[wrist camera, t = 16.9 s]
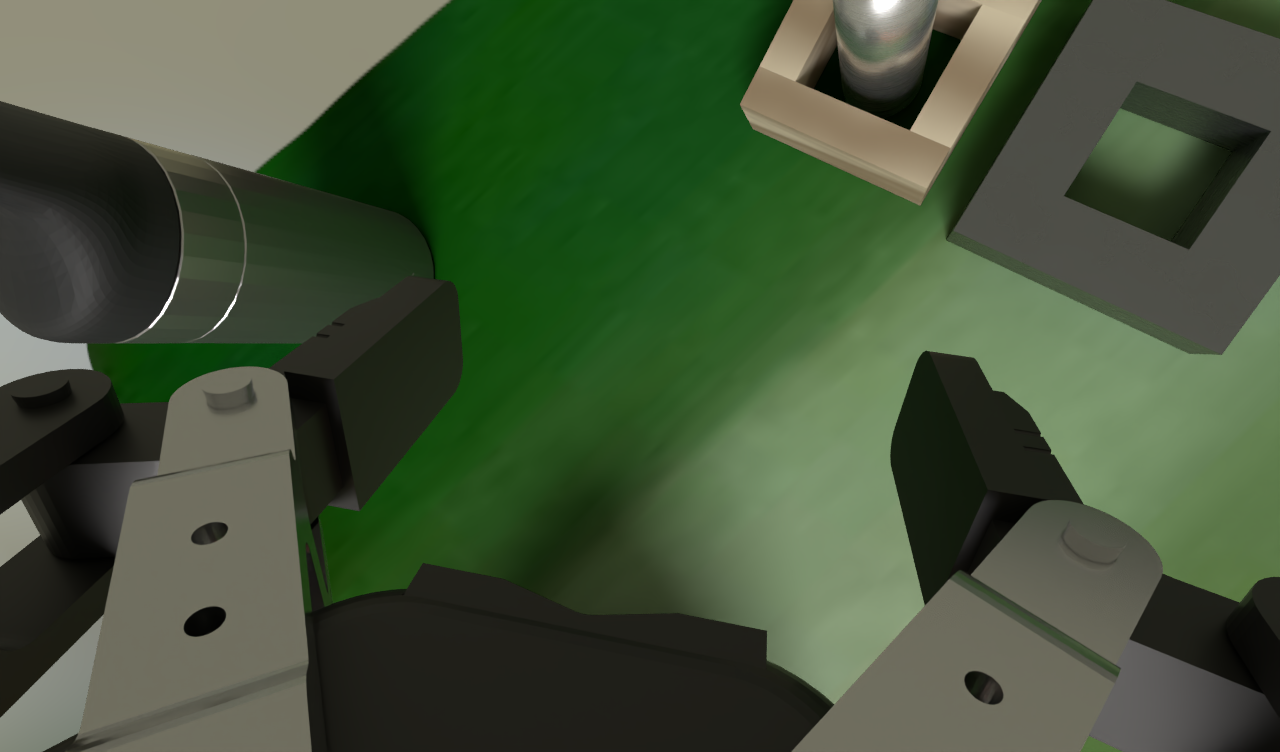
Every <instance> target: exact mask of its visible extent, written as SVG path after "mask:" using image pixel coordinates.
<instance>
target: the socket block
mask: <svg viewBox="0 0 1280 752" xmlns="http://www.w3.org/2000/svg"><path fill="white" fill-rule="evenodd" d="M1120 108H1122V109H1124V110H1127V111H1129V112H1132V113H1135V114H1137V115H1140V116H1142V117H1145V118H1148V119H1150V120H1153V121H1155V122H1158V123H1161V124H1163V125H1166V126H1168V127H1171V128H1174V129H1176V130H1179V131H1182V132H1184V133H1187V134H1189V135H1192V136H1195V137H1197V138H1200V139H1202V140H1205V141H1208V142H1210V143H1213V144H1215V145H1218V146H1221V147H1223V148H1226V149H1228V150H1231V151H1233V152H1232V153H1231V155H1230V156H1229V158H1228V159H1227V161H1226V162H1225V164H1224V165H1223V167H1222V168H1221V170H1220V171H1219V172H1218V174H1217V175H1216V177H1215V178H1214V180H1213V181H1212V183H1211V184H1210V186H1209V187H1208V189H1207V190H1206V192H1205V193H1204V194H1203V196H1202V197H1201V199H1200V200H1199V202H1198V203H1197V205H1196V206H1195V208H1194V209H1193V211H1192V212H1191V213H1190V215H1189V216H1188V218H1187V219H1186V221H1185V222H1184V224H1183V225H1182V227H1181V228H1180V230H1179V231H1178V232H1177V234H1176V235H1175V237H1174V238H1173V240H1172V241H1171V242H1170V241H1168V240H1165V239H1163V238H1161V237H1158V236H1156V235H1154V234H1151V233H1149V232H1147V231H1144V230H1142V229H1140V228H1137V227H1135V226H1133V225H1130V224H1128V223H1126V222H1123V221H1121V220H1119V219H1116V218H1114V217H1112V216H1109V215H1107V214H1105V213H1102V212H1100V211H1098V210H1095V209H1093V208H1091V207H1088V206H1086V205H1084V204H1081V203H1079V202H1076V201H1074V200H1072V199H1069V198H1067V197H1065V196H1064V195H1065V193H1066V192H1067V190H1068V189H1069V187H1070V185H1071V184H1072V182H1073V181H1074V179H1075V178H1076V176H1077V174H1078V173H1079V171H1080V170H1081V168H1082V167H1083V165H1084V163H1085V162H1086V160H1087V159H1088V157H1089V156H1090V154H1091V152H1092V151H1093V149H1094V148H1095V146H1096V145H1097V143H1098V141H1099V140H1100V138H1101V137H1102V135H1103V134H1104V132H1105V130H1106V129H1107V127H1108V126H1109V124H1110V123H1111V121H1112V120H1113V118H1114V116H1115V115H1116V113H1117V112H1118V110H1119V109H1120ZM946 240H947V241H949V242H951V243H954V244H956V245H958V246H960V247H962V248H964V249H966V250H969V251H971V252H973V253H975V254H977V255H979V256H981V257H984V258H986V259H988V260H990V261H992V262H994V263H996V264H999V265H1001V266H1003V267H1005V268H1007V269H1009V270H1011V271H1014V272H1016V273H1018V274H1020V275H1022V276H1024V277H1026V278H1028V279H1031V280H1033V281H1035V282H1037V283H1039V284H1041V285H1043V286H1046V287H1048V288H1050V289H1052V290H1054V291H1056V292H1058V293H1061V294H1063V295H1065V296H1067V297H1069V298H1071V299H1073V300H1076V301H1078V302H1080V303H1082V304H1084V305H1086V306H1088V307H1090V308H1093V309H1095V310H1097V311H1099V312H1101V313H1103V314H1105V315H1108V316H1110V317H1112V318H1114V319H1116V320H1118V321H1120V322H1123V323H1125V324H1127V325H1129V326H1131V327H1133V328H1135V329H1138V330H1140V331H1142V332H1144V333H1146V334H1148V335H1150V336H1153V337H1155V338H1157V339H1159V340H1161V341H1163V342H1165V343H1167V344H1170V345H1172V346H1174V347H1176V348H1178V349H1180V350H1182V351H1185V352H1187V353H1189V354H1217V355H1222V354H1223V352H1224V351H1225V350H1226V348H1227V347H1228V345H1229V344H1230V343H1231V341H1232V340H1233V339H1234V337H1235V336H1236V334H1237V333H1238V332H1239V330H1240V329H1241V328H1242V326H1243V325H1244V323H1245V322H1246V321H1247V319H1248V318H1249V317H1250V315H1251V314H1252V312H1253V311H1254V310H1255V308H1256V307H1257V306H1258V304H1259V303H1260V302H1261V300H1262V299H1263V297H1264V296H1265V295H1266V293H1267V292H1268V291H1269V289H1270V288H1271V286H1272V285H1273V284H1274V282H1275V281H1276V280H1277V278H1278V277H1279V275H1280V39H1279V38H1276V37H1273V36H1270V35H1267V34H1264V33H1261V32H1258V31H1255V30H1252V29H1249V28H1246V27H1243V26H1240V25H1237V24H1234V23H1231V22H1228V21H1225V20H1222V19H1219V18H1216V17H1214V16H1211V15H1208V14H1205V13H1202V12H1199V11H1196V10H1193V9H1190V8H1187V7H1184V6H1181V5H1178V4H1175V3H1172V2H1169V1H1166V0H1092V2H1091V3H1090V5H1089V6H1088V8H1087V9H1086V11H1085V12H1084V14H1083V16H1082V17H1081V19H1080V20H1079V22H1078V24H1077V25H1076V27H1075V29H1074V30H1073V32H1072V34H1071V35H1070V37H1069V39H1068V40H1067V42H1066V44H1065V45H1064V47H1063V48H1062V50H1061V52H1060V53H1059V55H1058V57H1057V58H1056V60H1055V62H1054V63H1053V65H1052V67H1051V68H1050V70H1049V72H1048V73H1047V75H1046V76H1045V78H1044V80H1043V81H1042V83H1041V85H1040V86H1039V88H1038V90H1037V91H1036V93H1035V95H1034V96H1033V98H1032V99H1031V101H1030V103H1029V104H1028V106H1027V108H1026V109H1025V111H1024V113H1023V114H1022V116H1021V118H1020V119H1019V121H1018V123H1017V124H1016V126H1015V127H1014V129H1013V131H1012V132H1011V134H1010V136H1009V137H1008V139H1007V141H1006V142H1005V144H1004V146H1003V147H1002V149H1001V151H1000V152H999V154H998V155H997V157H996V159H995V160H994V162H993V164H992V165H991V167H990V169H989V170H988V172H987V174H986V175H985V177H984V179H983V180H982V182H981V183H980V185H979V187H978V188H977V190H976V192H975V193H974V195H973V197H972V198H971V200H970V202H969V203H968V205H967V206H966V208H965V210H964V211H963V213H962V215H961V216H960V218H959V220H958V221H957V223H956V225H955V226H954V228H953V230H952V231H951V233H950V234H949V236H948V238H947V239H946Z"/></svg>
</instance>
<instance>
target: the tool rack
mask: <svg viewBox="0 0 1280 752" xmlns="http://www.w3.org/2000/svg"><path fill="white" fill-rule="evenodd" d="M1041 1H1042V0H938V5H937V10H936V15H935V20H934V25H933V29H934V30H937V31H939V32H942V33H944V34H947V35H950V36H952V37H955V38H958V39H960V40H962V41H961V42H960V44H959V46H958V48H957V49H956V51H955V53H954V55H953V56H952V58H951V60H950V62H949V63H948V65H947V67H946V68H945V70H944V72H943V74H942V75H941V77H940V79H939V81H938V82H937V84H936V86H935V88H934V89H933V91H932V93H931V95H930V96H929V98H928V100H927V102H926V103H925V105H924V107H923V109H922V110H921V112H920V114H919V116H918V117H917V119H916V121H915V122H914V124H913V126H912V128H911V129H910V130H907V129H905V128H903V127H900V126H898V125H896V124H893V123H891V122H889V121H886V120H884V119H882V118H879V117H877V116H875V115H872V114H870V113H868V112H865V111H863V110H861V109H858V108H856V107H854V106H851V105H849V104H847V103H844V102H842V101H840V100H837V99H835V98H833V97H830V96H828V95H826V94H823V93H821V92H819V91H816V90H814V87H815V86H816V84H817V82H818V80H819V78H820V76H821V74H822V72H823V71H824V69H825V67H826V65H827V63H828V61H829V59H830V58H831V56H832V54H833V52H834V50H835V48H836V46H837V35H836V26H835V17H834V7H833V0H793V2H792V4H791V6H790V8H789V10H788V12H787V14H786V16H785V18H784V20H783V22H782V24H781V26H780V28H779V29H778V31H777V33H776V35H775V37H774V39H773V41H772V43H771V45H770V47H769V49H768V51H767V53H766V55H765V57H764V59H763V61H762V62H761V64H760V66H759V68H758V70H757V72H756V74H755V76H754V78H753V80H752V82H751V84H750V86H749V88H748V90H747V92H746V94H745V96H744V97H743V99H742V101H741V103H740V105H741V107H742V109H743V111H744V113H745V115H746V117H747V119H748V120H749V122H750V124H751V126H752V128H753V129H754V130H756V131H759V132H761V133H763V134H765V135H767V136H770V137H772V138H774V139H776V140H778V141H780V142H783V143H785V144H787V145H789V146H791V147H794V148H796V149H798V150H800V151H802V152H805V153H807V154H809V155H811V156H813V157H815V158H818V159H820V160H822V161H824V162H826V163H829V164H831V165H833V166H835V167H837V168H839V169H842V170H844V171H846V172H848V173H850V174H853V175H855V176H857V177H859V178H861V179H863V180H866V181H868V182H870V183H872V184H874V185H877V186H879V187H881V188H883V189H885V190H887V191H890V192H892V193H894V194H896V195H898V196H901V197H903V198H905V199H907V200H909V201H911V202H914V203H916V204H918V205H921V204H922V202H923V200H924V198H925V197H926V195H927V193H928V192H929V190H930V188H931V187H932V185H933V183H934V182H935V180H936V178H937V177H938V175H939V173H940V171H941V170H942V168H943V166H944V165H945V163H946V161H947V160H948V158H949V156H950V155H951V153H952V151H953V149H954V148H955V146H956V144H957V143H958V141H959V139H960V138H961V136H962V134H963V133H964V131H965V129H966V128H967V126H968V124H969V122H970V121H971V119H972V117H973V116H974V114H975V112H976V111H977V109H978V107H979V106H980V104H981V102H982V100H983V99H984V97H985V95H986V94H987V92H988V90H989V89H990V87H991V85H992V84H993V82H994V80H995V79H996V77H997V75H998V73H999V72H1000V70H1001V68H1002V67H1003V65H1004V63H1005V62H1006V60H1007V58H1008V57H1009V55H1010V53H1011V52H1012V50H1013V48H1014V46H1015V45H1016V43H1017V41H1018V40H1019V38H1020V36H1021V35H1022V33H1023V31H1024V30H1025V28H1026V26H1027V24H1028V23H1029V21H1030V19H1031V18H1032V16H1033V14H1034V13H1035V11H1036V9H1037V8H1038V6H1039V4H1040V3H1041Z"/></svg>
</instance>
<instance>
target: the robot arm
mask: <svg viewBox="0 0 1280 752" xmlns="http://www.w3.org/2000/svg"><path fill="white" fill-rule="evenodd" d="M0 313H1V314H2V315H3V316H4V317H5V318H6V319H7V320H8V321H9V322H11V323H12V324H13V325H14V326H16V327H17V328H19V329H20V330H22V331H23V332H25V333H27V334H30V335H31V336H34V337H37V338H40V339H44V340H49V341H54V342H62V343H303V344H301V345H300V346H299V347H297V348H296V349H295V350H293V351H292V352H291V353H289V354H288V355H287V356H285V357H284V358H282V359H281V360H280V361H278V362H277V363H276V364H274V365H273V366H272V367H270V368H269V369H267V368H261V367H237V368H229V369H224V370H219V371H215V372H211V373H208V374H205V375H203V376H200V377H198V378H195V379H193V380H191V381H189V382H188V383H186V384H184V385H183V386H181V387H180V388H179V389H178V390H177V391H176V392H174V394H173V395H172V396H171V398H170V400H169V402H162V403H129V404H120V403H119V400H118V398H117V395H116V393H115V390H114V388H113V385H112V383H111V380H110V379H109V377H108V376H106V375H105V374H103V373H101V372H98V371H93V370H86V369H67V370H58V371H50V372H45V373H41V374H36V375H32V376H28V377H25V378H22V379H19V380H16V381H13V382H11V383H8V384H6V385H3V386H1V387H0V514H1V513H3V512H4V511H6V510H7V509H9V508H10V507H11V506H13V505H14V504H15V503H17V502H18V501H19V500H22V502H23V504H24V506H25V507H26V509H27V511H28V513H29V515H30V517H31V518H32V520H33V522H34V524H35V526H36V528H37V530H38V531H39V533H40V536H39V537H38V538H36V539H35V540H34V541H32V542H31V543H30V544H29V545H27V546H26V547H25V548H24V549H23V550H21V551H20V552H19V553H18V554H16V555H15V556H14V557H12V558H11V559H10V560H9V561H7V562H6V563H5V564H4V565H2V566H1V567H0V717H1V716H2V715H3V714H4V713H5V712H6V711H7V710H8V709H9V708H10V707H11V706H12V705H13V704H14V703H15V702H16V701H17V700H18V699H19V698H20V697H21V696H22V695H23V694H24V693H25V692H26V691H27V690H28V689H29V688H30V687H31V686H32V685H33V684H34V683H35V682H36V681H37V680H38V679H39V678H40V677H41V676H42V675H43V674H44V673H45V672H46V671H47V670H48V669H49V668H50V667H51V666H52V665H53V664H54V663H55V662H56V661H57V660H58V659H59V658H60V657H61V656H62V655H63V654H64V653H65V652H66V651H67V650H68V649H69V648H70V647H71V646H72V645H73V644H74V643H75V642H76V641H77V640H78V639H79V638H80V637H81V636H82V635H83V634H84V633H85V632H86V631H87V630H88V629H89V628H90V627H91V626H92V625H93V624H94V623H95V622H96V621H97V620H98V619H99V618H100V617H101V616H102V615H103V614H104V616H103V621H102V626H101V631H100V636H99V641H98V646H97V651H96V656H95V660H94V666H93V670H92V675H91V680H90V685H89V690H88V695H87V700H86V704H85V710H84V714H83V719H82V723H81V727H80V731H79V733H78V734H76V735H74V736H72V737H70V738H68V739H67V740H64V741H62V742H60V743H59V744H57V745H55V746H53V747H51V748H49V749H47V750H45V751H43V752H1080V751H1081V749H1082V747H1083V745H1084V743H1085V741H1086V740H1087V738H1088V736H1091V737H1093V738H1095V739H1097V740H1099V741H1101V742H1104V743H1106V744H1108V745H1110V746H1112V747H1114V748H1116V749H1119V750H1121V751H1123V752H1280V577H1270V578H1264V579H1262V580H1259V581H1258V582H1257V583H1256V584H1255V585H1254V586H1253V587H1252V588H1251V590H1250V591H1249V592H1248V593H1247V595H1246V596H1245V597H1244V598H1243V600H1242V601H1241V602H1240V603H1239V602H1237V601H1234V600H1231V599H1228V598H1226V597H1223V596H1220V595H1218V594H1215V593H1212V592H1209V591H1207V590H1204V589H1201V588H1199V587H1196V586H1193V585H1190V584H1188V583H1185V582H1182V581H1180V580H1177V579H1174V578H1172V577H1169V576H1167V575H1165V574H1162V573H1163V566H1162V562H1161V560H1160V557H1159V556H1158V554H1157V552H1156V551H1155V549H1154V548H1153V547H1152V546H1151V545H1150V543H1149V542H1148V541H1147V540H1146V539H1145V538H1143V537H1142V536H1141V535H1140V534H1139V533H1138V532H1136V531H1135V530H1134V529H1132V528H1131V527H1130V526H1128V525H1127V524H1125V523H1124V522H1122V521H1120V520H1119V519H1117V518H1115V517H1113V516H1111V515H1109V514H1107V513H1105V512H1103V511H1100V510H1098V509H1095V508H1093V507H1090V506H1087V505H1084V504H1083V502H1082V501H1081V499H1080V497H1079V496H1078V494H1077V492H1076V491H1075V489H1074V487H1073V486H1072V484H1071V482H1070V481H1069V479H1068V477H1067V476H1066V474H1065V472H1064V471H1063V469H1062V467H1061V466H1060V464H1059V462H1058V461H1057V459H1056V457H1055V456H1054V455H1051V449H1050V447H1049V446H1048V444H1047V442H1046V441H1045V439H1044V437H1040V434H1041V432H1040V431H1039V429H1038V427H1037V426H1036V424H1035V422H1034V421H1033V419H1032V417H1031V416H1030V414H1029V412H1028V411H1026V410H1025V409H1024V408H1023V407H1021V406H1020V405H1019V404H1018V403H1017V402H1015V401H1014V400H1013V399H1012V398H1010V397H1009V396H1008V395H1007V394H1005V393H1004V392H999V391H993V390H992V388H991V386H990V385H989V383H988V381H987V379H986V377H985V375H984V374H983V372H982V370H981V368H980V366H979V364H978V362H977V361H976V359H974V358H972V357H965V356H958V355H951V354H944V353H937V352H930V351H925V352H923V353H922V354H921V356H920V357H919V359H918V361H917V364H916V366H915V369H914V372H913V375H912V378H911V381H910V384H909V387H908V390H907V393H906V396H905V399H904V402H903V405H902V408H901V411H900V414H899V417H898V420H897V423H896V426H895V429H894V433H893V437H892V443H891V454H890V458H891V467H892V472H893V476H894V480H895V484H896V488H897V492H898V496H899V501H900V505H901V509H902V513H903V517H904V521H905V525H906V529H907V534H908V538H909V542H910V546H911V550H912V554H913V558H914V563H915V567H916V571H917V575H918V579H919V583H920V587H921V592H922V596H923V600H924V604H925V606H924V607H923V609H922V610H921V611H920V612H919V613H918V614H917V615H916V616H915V617H914V618H913V619H912V621H911V622H910V623H909V624H908V625H907V626H906V627H905V628H904V629H903V630H902V631H901V633H900V634H899V635H898V636H897V637H896V638H895V639H894V640H893V641H892V642H891V643H890V645H889V646H888V647H887V648H886V649H885V650H884V651H883V652H882V653H881V654H880V655H879V657H878V658H877V659H876V660H875V661H874V662H873V663H872V664H871V665H870V666H869V667H868V669H867V670H866V671H865V672H864V673H863V674H862V675H861V676H860V677H859V678H858V679H857V681H856V682H855V683H854V684H853V685H852V686H851V687H850V688H849V689H848V690H847V692H846V693H845V694H844V695H843V696H842V697H841V698H840V699H839V700H838V701H837V702H836V704H835V705H834V704H833V703H832V702H831V701H830V700H829V699H827V698H826V697H825V696H824V695H823V694H822V693H821V692H819V691H818V690H816V689H815V688H814V687H812V686H811V685H809V684H808V683H807V682H805V681H804V680H802V679H801V678H799V677H797V676H796V675H794V674H792V673H790V672H789V671H787V670H785V669H783V668H782V667H780V666H778V665H776V664H773V663H771V662H769V661H767V660H766V652H767V631H765V630H760V629H755V628H750V627H745V626H740V625H735V624H730V623H724V622H719V621H714V620H709V619H704V618H699V617H694V616H689V615H684V614H679V613H675V614H626V615H586V614H581V613H578V612H575V611H573V610H571V609H569V608H566V607H564V606H562V605H560V604H558V603H555V602H553V601H551V600H549V599H547V598H544V597H542V596H540V595H538V594H535V593H533V592H531V591H529V590H527V589H524V588H522V587H520V586H518V585H516V584H513V583H511V582H509V581H507V580H505V579H501V578H496V577H491V576H486V575H481V574H476V573H470V572H465V571H460V570H455V569H450V568H445V567H440V566H435V565H430V564H425V563H423V564H422V566H421V567H420V569H419V570H418V572H417V574H416V575H415V577H414V579H413V580H412V582H411V583H410V585H409V587H408V588H407V589H396V590H388V591H380V592H374V593H369V594H365V595H360V596H356V597H352V598H349V599H346V600H343V601H339V602H336V603H333V601H332V594H331V587H330V580H329V572H328V565H327V558H326V551H325V544H324V537H323V530H322V526H321V521H320V517H319V514H320V513H321V512H322V511H323V510H324V509H325V508H326V506H327V505H330V506H335V507H341V508H346V509H351V510H357V511H360V510H361V509H362V507H363V506H364V505H365V504H366V502H367V501H368V500H369V499H370V497H371V496H372V495H373V494H374V492H375V491H376V490H377V489H378V487H379V486H380V485H381V484H382V482H383V481H384V480H385V479H386V477H387V476H388V475H389V474H390V472H391V471H392V470H393V469H394V467H395V466H396V465H397V464H398V463H399V461H400V460H401V459H402V458H403V456H404V455H405V454H406V453H407V451H408V450H409V449H410V448H411V446H412V445H413V444H414V443H415V441H416V440H417V439H418V438H419V436H420V435H421V434H422V433H423V431H424V430H425V429H426V428H427V426H428V425H429V424H430V423H431V421H432V420H433V419H434V418H435V417H436V415H437V414H438V413H439V412H440V410H441V409H442V408H443V407H444V405H445V404H446V403H447V402H448V400H449V399H450V398H451V397H452V395H453V394H454V393H455V391H456V389H457V387H458V385H459V382H460V379H461V374H462V367H463V356H462V342H461V329H460V316H459V302H458V294H457V290H456V287H455V285H454V284H453V283H452V282H451V281H444V280H437V279H434V272H433V262H432V258H431V253H430V250H429V248H428V245H427V243H426V241H425V238H424V237H423V236H422V234H421V233H420V231H419V230H418V228H417V227H416V226H415V225H414V224H413V223H412V222H411V221H410V220H408V219H407V218H405V217H403V216H402V215H400V214H398V213H396V212H392V211H389V210H385V209H382V208H378V207H375V206H371V205H368V204H364V203H361V202H357V201H354V200H351V199H347V198H344V197H340V196H337V195H333V194H330V193H326V192H322V191H319V190H315V189H312V188H308V187H305V186H301V185H297V184H294V183H290V182H287V181H283V180H279V179H276V178H272V177H269V176H265V175H262V174H258V173H254V172H251V171H247V170H244V169H240V168H236V167H233V166H229V165H226V164H222V163H219V162H215V161H211V160H208V159H204V158H201V157H197V156H194V155H189V154H185V153H181V152H178V151H174V150H171V149H167V148H164V147H160V146H157V145H153V144H149V143H145V142H142V141H139V140H135V139H131V138H128V137H123V136H121V135H117V134H113V133H109V132H106V131H102V130H98V129H95V128H91V127H87V126H84V125H80V124H77V123H73V122H70V121H66V120H63V119H59V118H56V117H53V116H49V115H45V114H42V113H39V112H36V111H32V110H29V109H25V108H22V107H18V106H15V105H12V104H8V103H4V102H1V101H0Z"/></svg>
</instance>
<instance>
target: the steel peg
mask: <svg viewBox="0 0 1280 752" xmlns="http://www.w3.org/2000/svg"><path fill="white" fill-rule="evenodd" d="M937 5H938V0H833V7H834V17H835V26H836V35H837V45H838V54H839V63H840V73H841V82H842V91H843V95H844V98H845V100H846V102H847V104H849V105H851V106H854V107H856V108H858V109H861V110H863V111H865V112H868V113H870V114H872V115H875V116H877V117H879V118H884V117H889V116H892V115H894V114H896V113H898V112H900V111H902V110H903V109H904V108H906V107H907V106H908V105H909V104H910V103H911V102H912V101H913V100H914V98H915V97H916V95H917V94H918V92H919V90H920V87H921V84H922V79H923V74H924V69H925V64H926V59H927V54H928V49H929V45H930V40H931V35H932V30H933V25H934V20H935V15H936V10H937Z"/></svg>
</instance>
